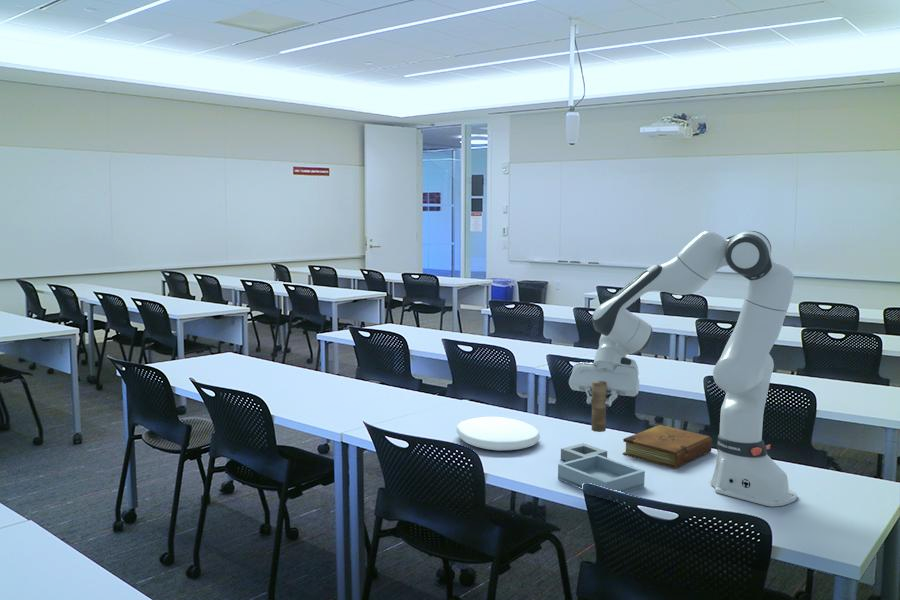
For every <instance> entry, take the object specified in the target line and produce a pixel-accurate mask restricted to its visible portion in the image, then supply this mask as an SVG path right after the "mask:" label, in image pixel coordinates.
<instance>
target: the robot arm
mask: <svg viewBox="0 0 900 600" xmlns="http://www.w3.org/2000/svg"><path fill="white" fill-rule="evenodd" d="M727 266H729V268H730V269H731V270H732V271H734V272H735V273H737V274H739V275H740V276H742V277H744V278H745V279H747V280H748V281H749V283H748V287H747V288H748V289H747V291H746V294H745V297H744V300H743V304H742V307H741V309H740V312H739V316H738V319H737V322H736V324H735V326H734V329H733V331H732V333H731V335H730V336H729V338H728V340H727V342H726V344H725V346H724V349H723V351H722V352H721V354H720V355H721V356H720V357H719V359H718V360H717V362H716V364H715V365H714V367H713V371H712V377H713V381H714V382H715V385H716V386H717V387H718V388H719V389H720V390H722V391H723V392H725V396H724V399H723V402H722V405H721V408H720V417H719V418H720V420H719V421H720V422H719V434H718V435H717V444H716V450H717V458H716V463H715V467H714V468H715V469H714V471H713V474H712V477H711V480H710V484H711V486H713V488H714V489H715V490H714V491H715V492H716V493H717V494H720V495H721V494H722V495H725V496H729V497H733V498H736V499H740V500H744V501H747V502H751V503H754V504H758V505H763V506H767V507H780V506H785V505H789V504H791V503H793V502H795V501H796V500H797V499H798V493H797V492H796V491H794V490H792V489H790V488H789V487H790V486H789V479H788V476H787V474H786V472H785V470H783V469H782V468H781V467H780V466H779V465H778V464H777V463H776V462H775V461H774V460H773V459H772V458H771V457H770V456H769V455H768V451H767V450H770V449H771V445H772V444H767V445H766V444H765V442H764V440H763V438H762V437H763V422H764V411H765V407H766V402H767V398H768V392H769V389H770V382H771V378H772V375H773V371H774V366H775V365H774V359H773V358H772V356H771V354H770V352H771V350H772V348H773V346H774V344H775V343H776V342H777V340H778V338H779V336H780V334H781V330H782V328H783V327H782V326H783V324H784V321H785V318H786V315H787V312H788V310H789V306H790V303H791V300H792V295H793V289H794V280H795V277H794V274H793V272H792V271H791V270H790V269H789V268H788V267H786V266H785V265H782V264H779V263H776V262H775V261H774V260H773V258H772V245H771V243H770V240H769V238H768V237H767V236H766V235H764V234H763V233H761V232H759V231H755V230H746V231H743V232H739V233H738V234H734V235H731V236H728V237H727V238H725V237H723V236H722V235H720V234H719V233H716V232H714V231H710V230H706V231H702V232H701V233H699V234H698V235H696V236H695V237H694V238H693V239H691V240H690V241H689V242H688V243H687V244H686V245H685V246H684V247H683V248H682V249H681V250H679V252H678V253H676V255H675V256H673V258H672V259H670V260H669V261H667V262H666V261H665V263H662V264H661V263H660V264H654V265H651V266H649V267H648V268H646V269H645V270H644V271H642V272H641V273H640V274H638V275H637V276H636V277H635V278H634V279H632V280H631V281H630V282H629V283H627V284H626V285H624V287H622V289H621V288H620V290H619V291H618V292H616V293H615V294H614V295H612V296H611V297H609V298H608V299H606V300H605V301H603V302H602V303H600V304H599V305H598V306H597V307H596V308H595V310H594V311H593V313H592V315H591V320H592V325H593V328H594V330H595V332H597V333H599V334H601V335H600V337H599V340H598V348H597V350H596V353H595V356H594V359H593V360H594V361H593V362H582V361H581V362H578V363H576V364H574V365H573V367H572V369H571V370H572V373H570V374H571V375H570V377H569V379H568V385H569V387H570V389H571V390H572V391H578V392H585V394H586V396H587V397H586V403H587V405H592V382H593V381H604V382H606V395H610V396H609V397H606V401H605V406H606V407H611V406H612V403H613V402H614V401H615V400H616V399H617V398H618V396H627V397H636V396H637V395H638V394H639V391H640V379H639V378H640V377H639V376H640V375H639V368H638V364H637V362H636V361H635V360H634V359H632V358H629V357H627V355H634V354H637V353H640V352H643V351H646V350H647V349H648V348H649V347H650V345H651V342H652V339H653V333H654V332H653V328H652V325H651V324H649V323H648V322H647V321H645V320H644V319H642V318H640V317H639V316H637V315H636V314H635V313H632V312H631V311H629V310H628V309H627V308H629V307H630V306H631V305H632V304H633V303H635V302H636V301H637V300H638V299H640V298H641V297H642V296H643V295H645V294H647V293H650V292H664V293H669V294H674V295H679V296H683V295H684V296H686V295H691V294H692V295H693V294H695V293H697V291H698V290H700V289H701V288H702V287H703V286H704V285H705V284H706V283H707V282H708V281H709V280H710V279H711V278H712V277H713V276H714V274H715V273H716V272H717V271H719V269H721V268H724V267H727Z"/></svg>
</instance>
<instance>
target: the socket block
mask: <svg viewBox="0 0 900 600" xmlns="http://www.w3.org/2000/svg"><path fill="white" fill-rule="evenodd" d="M595 454H598V455H601V456H604V457H606V458H608V451H607V450H604V449H601V448H599V447H595V446H593V445H591V444H586V443H584V442H583V443H578V444H574V445H571V446H567V447H563V448H560V460H561V459H562V460H561V461H563V460H565V461H564V462H566V461H567V462H568V461H572V460H576V459H580V458H584V457H587V456H591V455H595Z"/></svg>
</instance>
